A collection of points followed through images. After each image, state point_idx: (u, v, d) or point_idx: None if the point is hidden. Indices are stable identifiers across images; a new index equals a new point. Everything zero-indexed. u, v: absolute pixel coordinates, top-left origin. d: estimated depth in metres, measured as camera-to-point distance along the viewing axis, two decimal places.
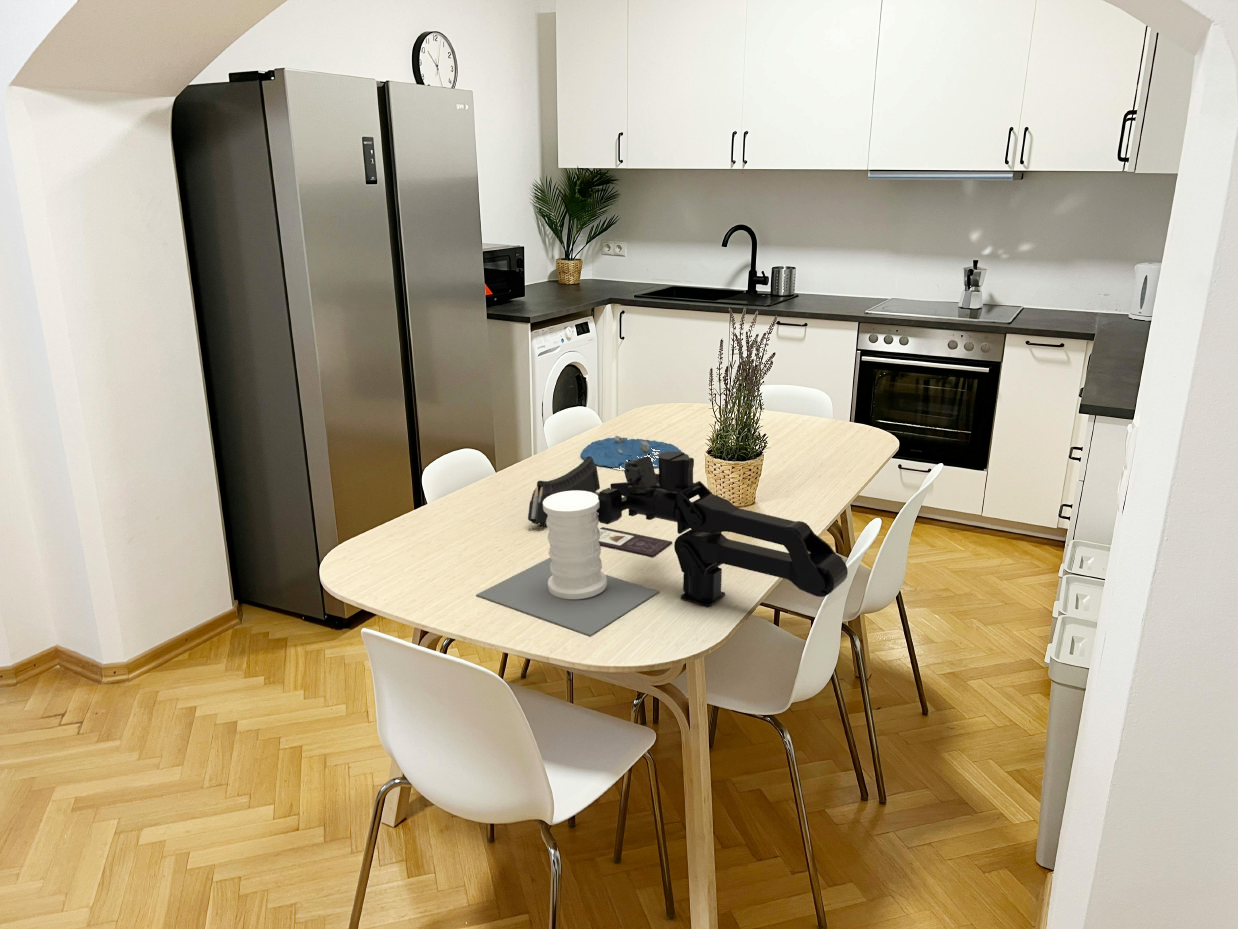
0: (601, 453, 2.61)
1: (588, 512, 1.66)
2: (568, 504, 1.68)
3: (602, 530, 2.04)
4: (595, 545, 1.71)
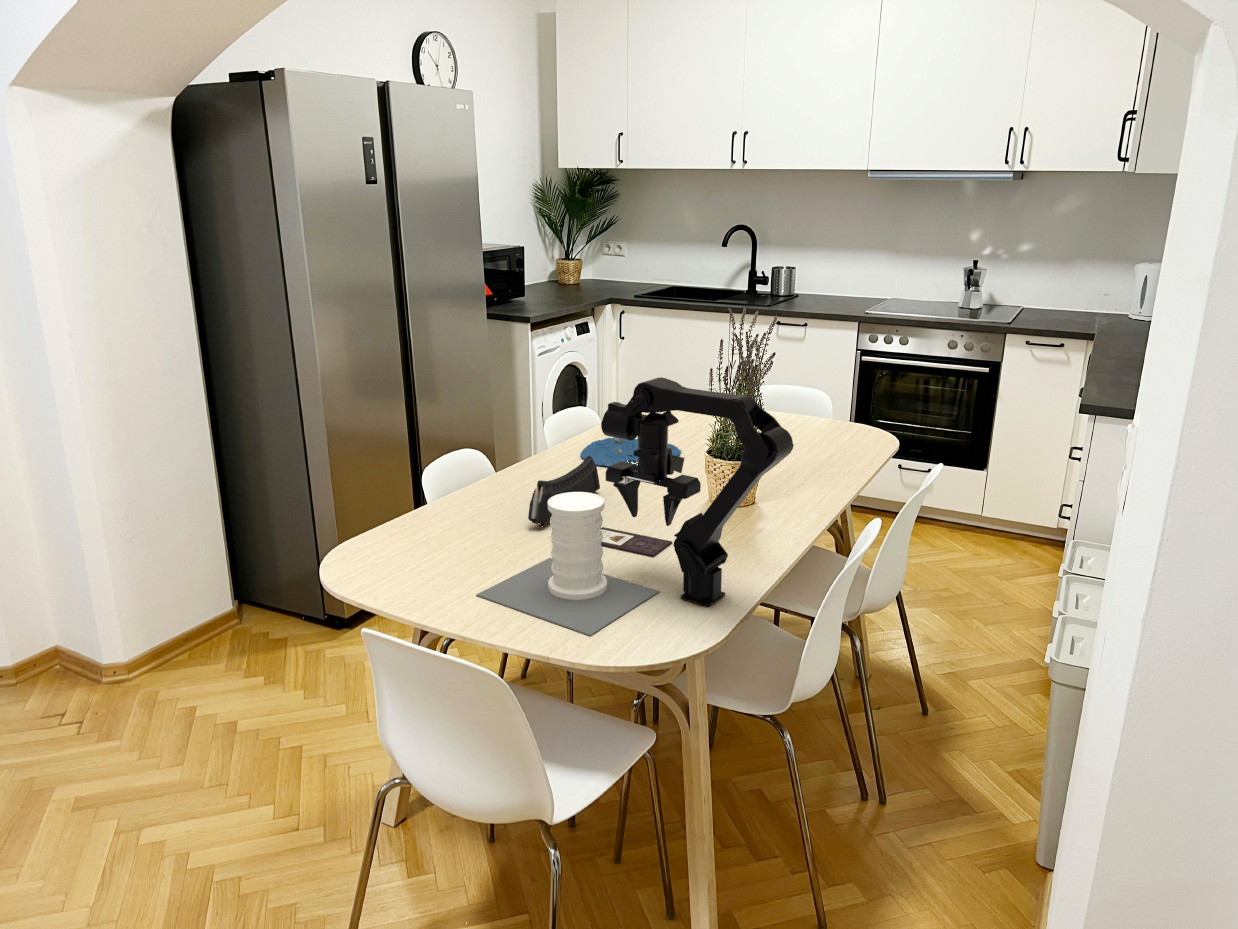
0: (601, 453, 2.61)
1: (593, 513, 1.67)
2: (573, 505, 1.68)
3: (602, 530, 2.04)
4: (598, 547, 1.71)
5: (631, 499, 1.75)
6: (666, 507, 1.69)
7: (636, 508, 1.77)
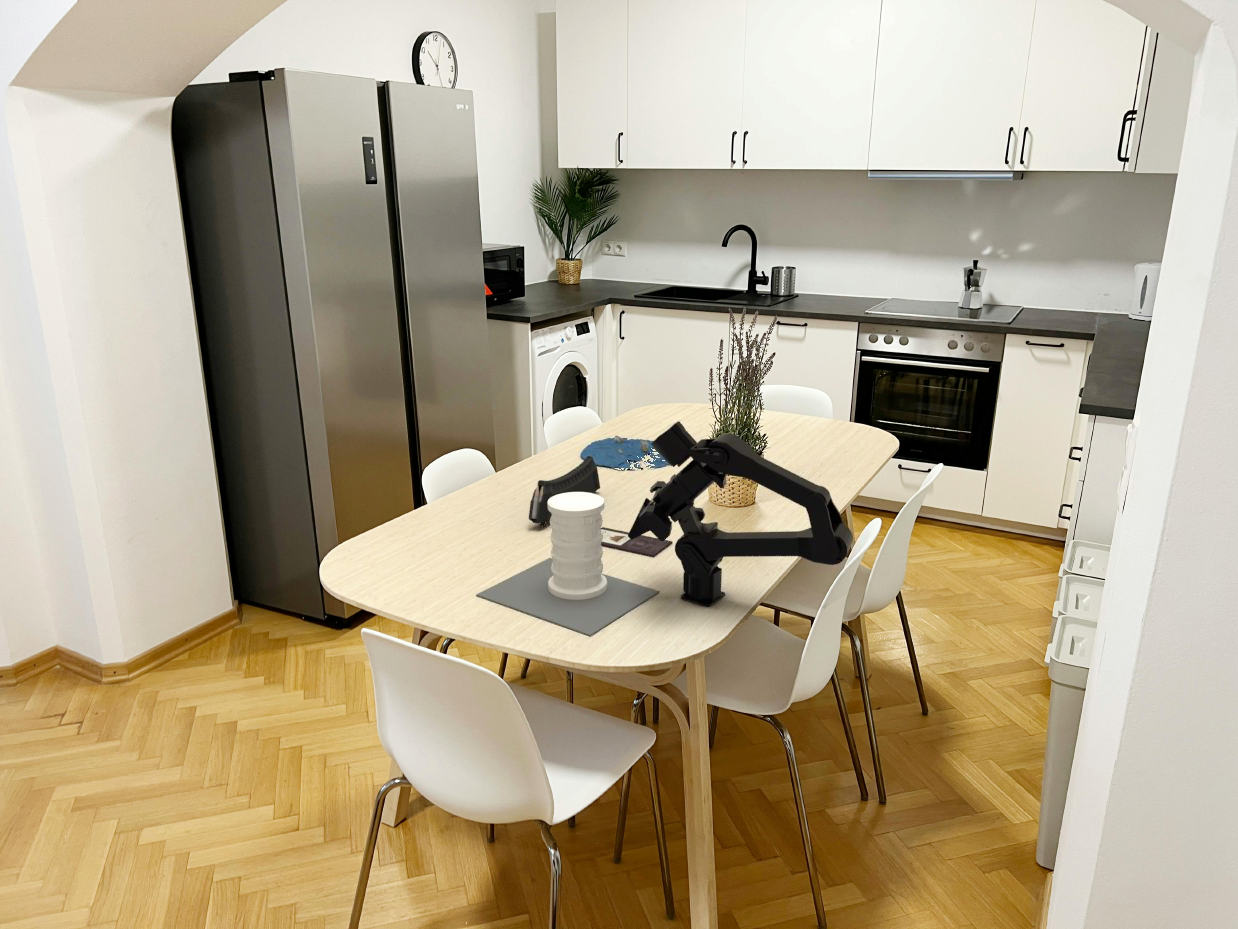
0: (601, 453, 2.61)
1: (593, 513, 1.67)
2: (573, 505, 1.68)
3: (602, 530, 2.04)
4: (597, 547, 1.71)
5: None
6: None
7: None
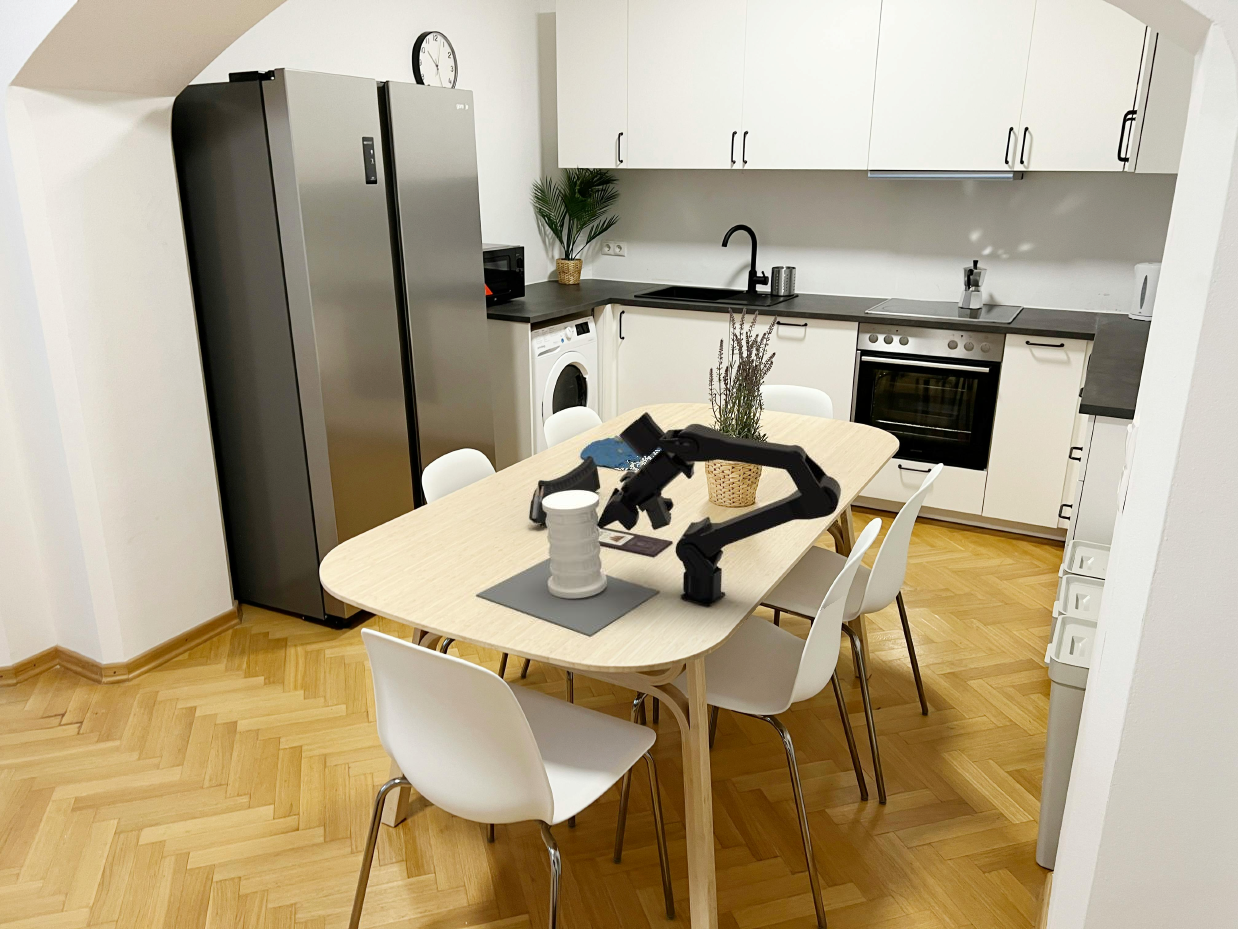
0: (601, 453, 2.61)
1: (587, 510, 1.67)
2: (567, 503, 1.68)
3: (602, 530, 2.04)
4: (594, 544, 1.71)
5: None
6: None
7: None
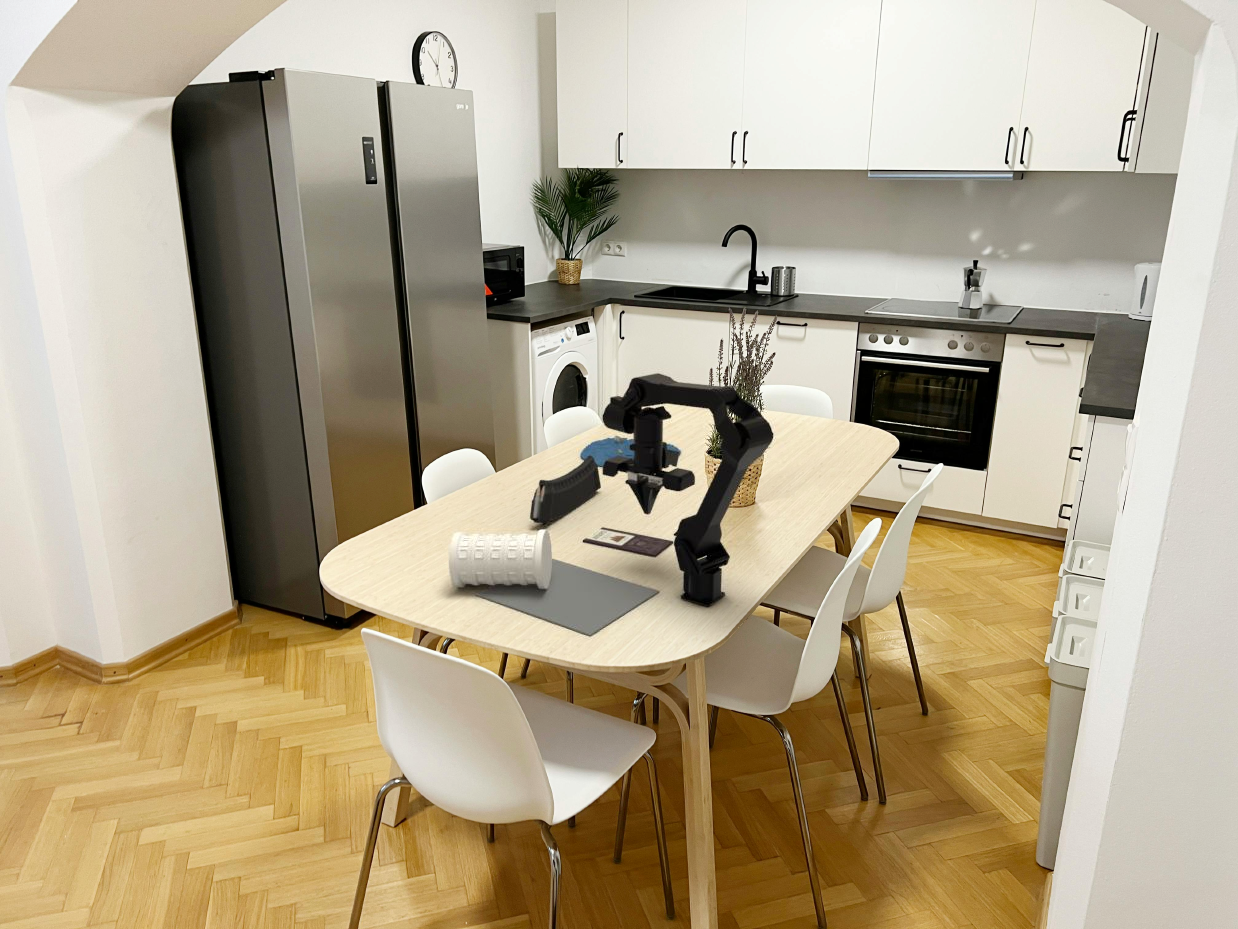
0: (601, 453, 2.61)
1: (454, 549, 1.72)
2: None
3: (602, 530, 2.04)
4: (496, 541, 1.73)
5: (643, 496, 1.77)
6: (645, 496, 1.75)
7: None
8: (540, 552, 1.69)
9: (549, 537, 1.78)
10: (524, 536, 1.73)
